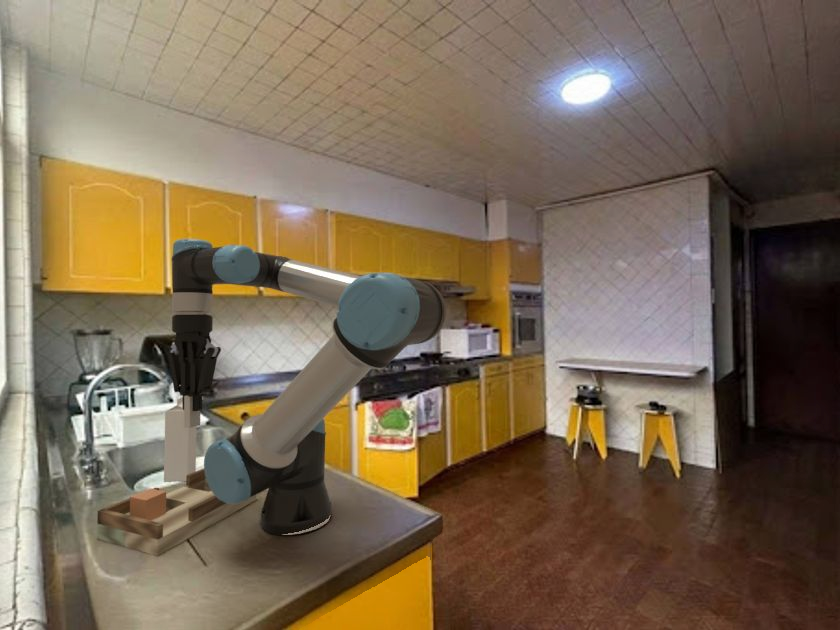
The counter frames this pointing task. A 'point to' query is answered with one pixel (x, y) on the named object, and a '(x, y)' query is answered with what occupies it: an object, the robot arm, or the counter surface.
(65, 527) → the counter surface
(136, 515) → the block
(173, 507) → the box
